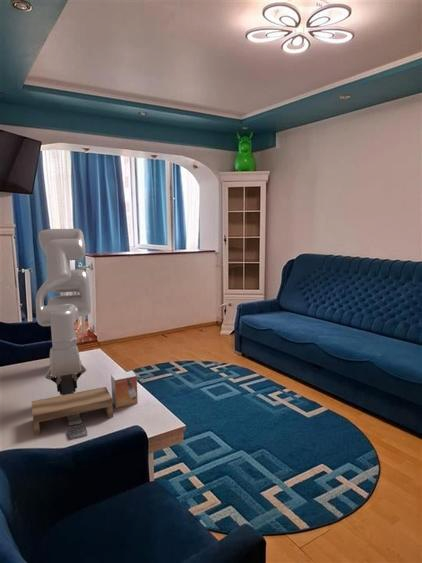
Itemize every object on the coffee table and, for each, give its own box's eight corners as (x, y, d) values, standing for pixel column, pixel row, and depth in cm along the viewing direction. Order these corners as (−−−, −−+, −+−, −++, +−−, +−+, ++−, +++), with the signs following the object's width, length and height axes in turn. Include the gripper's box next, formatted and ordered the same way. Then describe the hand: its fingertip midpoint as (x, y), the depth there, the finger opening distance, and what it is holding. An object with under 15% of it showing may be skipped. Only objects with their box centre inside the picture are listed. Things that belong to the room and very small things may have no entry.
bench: (33, 419, 130) (31, 401, 129) (106, 403, 140) (105, 386, 139) (34, 435, 121) (32, 415, 120) (113, 416, 131) (112, 398, 130)
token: (68, 432, 123) (68, 427, 123) (84, 428, 125) (84, 423, 125) (70, 440, 119) (70, 436, 119) (87, 436, 121) (87, 431, 121)
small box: (115, 408, 137) (114, 380, 135) (111, 401, 142) (110, 374, 140) (138, 403, 140) (137, 375, 138) (133, 396, 145) (132, 370, 143)
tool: (61, 397, 145) (59, 371, 143) (73, 395, 146) (71, 369, 145) (68, 425, 125) (66, 396, 124) (82, 422, 127) (79, 393, 125)
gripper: (86, 337, 147) (89, 383, 150) (37, 344, 140) (41, 392, 143) (89, 343, 140) (92, 391, 144) (38, 351, 133) (43, 401, 136)
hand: (67, 391), depth 143 cm, fingers closed on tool, 4 cm apart
